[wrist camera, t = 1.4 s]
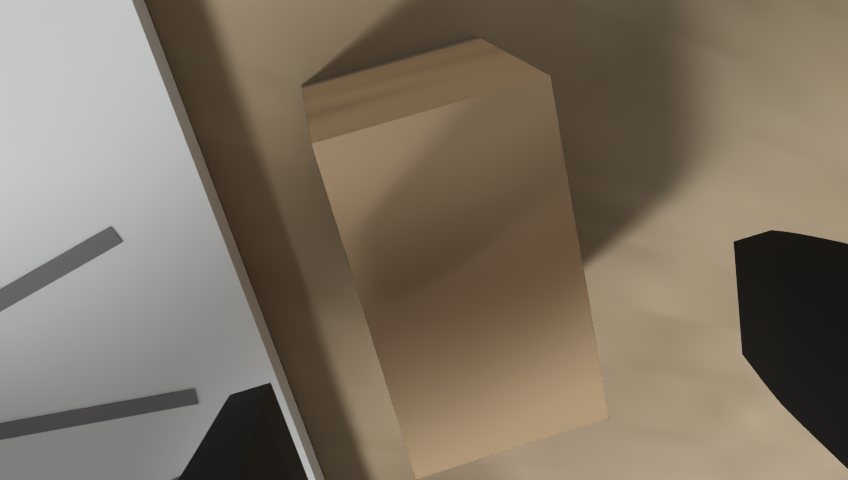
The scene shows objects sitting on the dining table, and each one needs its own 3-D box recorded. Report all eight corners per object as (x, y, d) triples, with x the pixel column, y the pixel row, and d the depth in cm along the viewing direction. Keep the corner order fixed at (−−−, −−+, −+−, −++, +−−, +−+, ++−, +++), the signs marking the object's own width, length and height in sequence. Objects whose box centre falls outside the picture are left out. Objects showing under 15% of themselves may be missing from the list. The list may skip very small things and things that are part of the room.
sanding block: (532, 304, 20) (608, 417, 15) (383, 350, 20) (416, 479, 15) (476, 35, 17) (550, 75, 12) (301, 84, 17) (311, 143, 12)
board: (366, 591, 22) (371, 626, 21) (24, 703, 22) (10, 746, 20) (123, -55, 15) (111, -53, 14) (-407, 83, 14) (-466, 97, 13)
